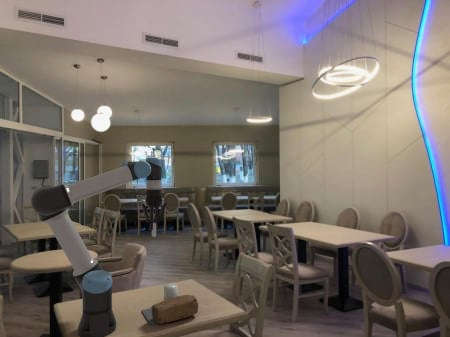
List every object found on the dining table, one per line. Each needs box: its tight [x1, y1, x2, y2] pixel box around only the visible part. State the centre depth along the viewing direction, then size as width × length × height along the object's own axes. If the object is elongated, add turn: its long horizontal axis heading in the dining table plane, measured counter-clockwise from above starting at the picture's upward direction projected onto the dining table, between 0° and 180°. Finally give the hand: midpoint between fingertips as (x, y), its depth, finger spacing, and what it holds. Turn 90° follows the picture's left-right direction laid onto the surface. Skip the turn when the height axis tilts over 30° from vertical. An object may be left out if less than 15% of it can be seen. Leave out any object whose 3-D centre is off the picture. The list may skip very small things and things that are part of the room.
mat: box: [141, 307, 187, 326], centre depth 158 cm, size 18×16×1 cm
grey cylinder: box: [163, 283, 179, 301], centre depth 173 cm, size 7×7×8 cm
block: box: [151, 294, 199, 324], centre depth 154 cm, size 11×8×20 cm
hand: (153, 236), depth 168 cm, fingers closed
